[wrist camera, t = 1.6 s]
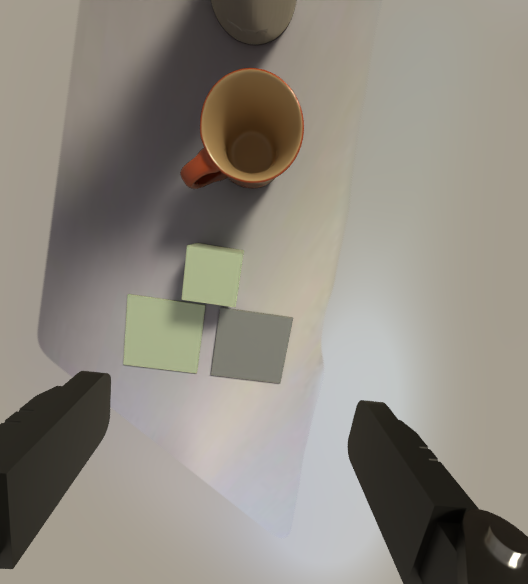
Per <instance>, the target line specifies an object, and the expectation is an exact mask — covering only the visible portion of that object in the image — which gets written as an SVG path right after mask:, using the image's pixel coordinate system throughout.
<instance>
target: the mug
mask: <svg viewBox="0 0 528 584" xmlns="http://www.w3.org/2000/svg"><path fill="white" fill-rule="evenodd" d="M303 134H304V120H303V114H302V110H301V107H300V104H299V102H298V99H297V97H296V96H295V94H294V92H293V91H292V89H291V88H290V87H289V86H288V85H287V84H286V83H285V82H284V81H283V80H282V79H281V78H279V77H278V76H276V75H275V74H273V73H271V72H268V71H266V70H262V69H257V68H244V69H239V70H236V71H233V72H231V73H229V74H227V75H225V76H224V77H222V78H221V79H220V80H219V81H218V82H217V83H216V84H215V85H214V86H213V87H212V89H211V90H210V91H209V93H208V95H207V97H206V99H205V101H204V104H203V107H202V111H201V118H200V135H201V140H202V143H203V145H204V148H203V149H202V150H201V151H200V152H199V153H198V154H197V156H196V157H195V158H194V159H192V160H191V161H190V162H188V163H187V164H186V165H185V166H184V167H183V168H182V169H181V172H180V175H181V178H182V180H183V181H184V183H185V184H186V185H187V186H188V187H189V188H191V189H198V188H201V187H204V186H206V185H209V184H211V183H214V182H218V181H221V180H224V179H226V178H229V180H231V181H232V182H233V183H235V184H237V185H239V186H242V187H245V188H259V187H263V186H265V185H267V184H269V183H270V182H272V181H273V180H274V179H275V178H276V177H277V176H279V175H281V174H282V173H283V172H284V171H286V170H287V169H288V168H289V167H290V165H291V164H292V163H293V161H294V160H295V158H296V157H297V155H298V153H299V150H300V148H301V144H302V140H303Z"/></svg>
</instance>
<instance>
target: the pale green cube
mask: <svg viewBox="0 0 528 584" xmlns="http://www.w3.org/2000/svg"><path fill="white" fill-rule="evenodd" d="M243 253H244V250H238V249H232V248H226V247H219V246H213V245H207V244H201V243H195V244H191V245H188V246H187V252H186V262H185V271H184V281H183V291H182V300H187V301H194V302H201V303H208V304H215V305H222V306H229V307H235V306H236V300H237V294H238V287H239V280H240V273H241V267H242V260H243Z"/></svg>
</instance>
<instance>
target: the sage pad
mask: <svg viewBox="0 0 528 584" xmlns="http://www.w3.org/2000/svg"><path fill="white" fill-rule="evenodd" d="M204 313H205V305H201V304H194V303H187V302H180V301H173V300H166V299H159V298H152V297H145V296H138V295H131V294H128V298H127V314H126V330H125V347H124V363H123V365H131V366H139V367H148V368H156V369H164V370H173V371H181V372H189V373H197V369H198V361H199V353H200V345H201V337H202V329H203V321H204Z"/></svg>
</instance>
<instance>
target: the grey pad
mask: <svg viewBox="0 0 528 584" xmlns="http://www.w3.org/2000/svg"><path fill="white" fill-rule="evenodd" d="M292 321H293V318H292V317H285V316H278V315H271V314H264V313H257V312H250V311H243V310H236V309H229V308H222V307H220V312H219V320H218V327H217V334H216V342H215V349H214V356H213V364H212V371H211V375H214V376H222V377H231V378H239V379H247V380H255V381H264V382H272V383H280V382H281V377H282V372H283V367H284V362H285V357H286V352H287V347H288V342H289V337H290V331H291V326H292Z"/></svg>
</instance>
